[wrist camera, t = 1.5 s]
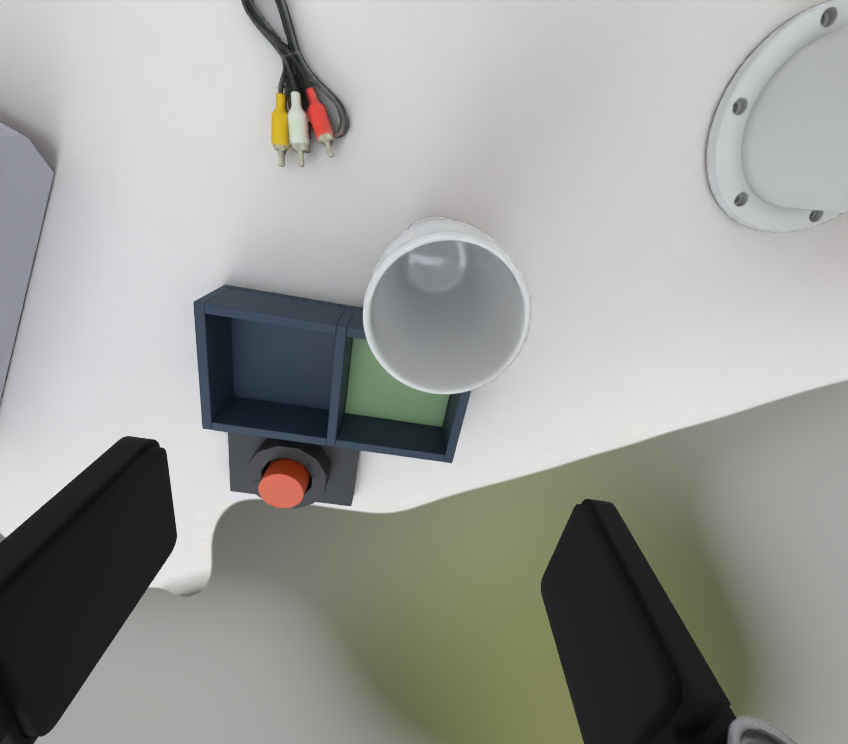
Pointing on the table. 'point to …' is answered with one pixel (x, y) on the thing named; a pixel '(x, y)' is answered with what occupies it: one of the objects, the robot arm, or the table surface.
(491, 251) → the drinking glass
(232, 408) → the divided tray
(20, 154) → the game console
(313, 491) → the control block
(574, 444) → the table surface
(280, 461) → the button
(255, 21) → the composite cable
